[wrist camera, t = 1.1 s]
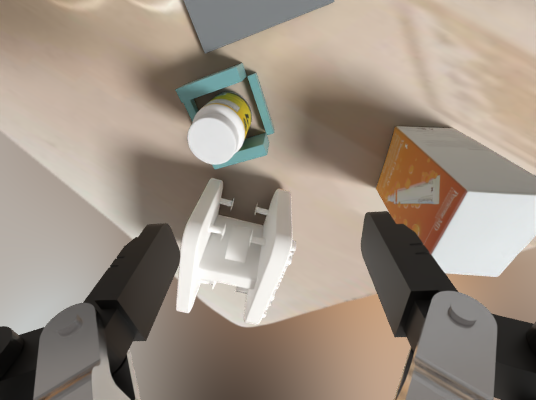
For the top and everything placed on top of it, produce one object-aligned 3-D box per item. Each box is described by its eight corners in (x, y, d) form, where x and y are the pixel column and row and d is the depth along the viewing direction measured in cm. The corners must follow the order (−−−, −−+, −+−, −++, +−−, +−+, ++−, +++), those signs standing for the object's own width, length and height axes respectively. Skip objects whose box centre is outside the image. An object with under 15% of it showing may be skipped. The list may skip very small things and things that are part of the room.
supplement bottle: (245, 141, 28) (231, 177, 21) (205, 127, 28) (177, 158, 21) (258, 100, 26) (247, 125, 19) (214, 83, 25) (186, 102, 18)
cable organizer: (213, 163, 30) (179, 224, 21) (295, 184, 31) (299, 252, 22) (201, 246, 39) (173, 317, 29) (266, 261, 39) (259, 334, 30)
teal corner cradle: (252, 58, 23) (247, 62, 21) (277, 140, 28) (276, 152, 25) (179, 86, 25) (165, 93, 22) (214, 158, 30) (206, 171, 27)
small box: (393, 124, 26) (468, 189, 15) (455, 127, 26) (574, 194, 15) (373, 189, 31) (420, 273, 20) (425, 192, 30) (501, 279, 20)
